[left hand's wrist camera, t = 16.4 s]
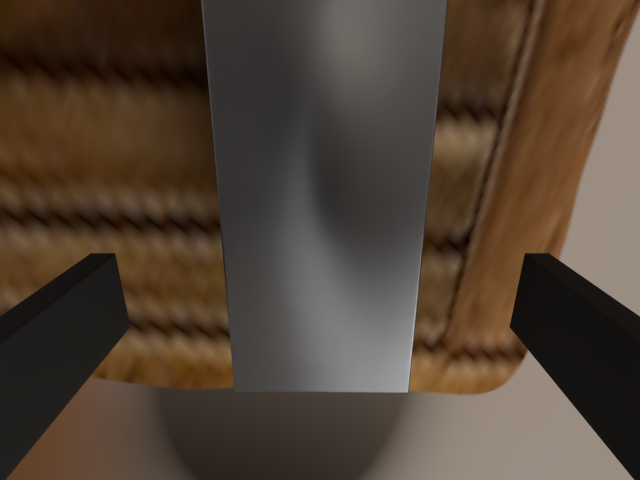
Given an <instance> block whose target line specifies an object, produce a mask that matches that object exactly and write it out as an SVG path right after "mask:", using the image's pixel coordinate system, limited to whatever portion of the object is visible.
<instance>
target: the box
mask: <svg viewBox="0 0 640 480" xmlns="http://www.w3.org/2000/svg"><path fill="white" fill-rule="evenodd" d="M201 6H202V18H203V29H204V41H205V53H206V64H207V76H208V87H209V99H210V111H211V122H212V134H213V145H214V157H215V169H216V180H217V192H218V203H219V215H220V227H221V238H222V250H223V262H224V273H225V285H226V296H227V308H228V320H229V331H230V343H231V354H232V366H233V378H234V389H235V391H236V392H337V393H408V391H409V382H410V373H411V363H412V353H413V343H414V333H415V323H416V313H417V303H418V294H419V284H420V274H421V264H422V254H423V244H424V234H425V224H426V214H427V205H428V195H429V185H430V175H431V165H432V155H433V145H434V135H435V125H436V116H437V106H438V96H439V86H440V76H441V66H442V56H443V46H444V36H445V27H446V17H447V7H448V0H201Z"/></svg>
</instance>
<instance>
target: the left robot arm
mask: <svg viewBox="0 0 640 480" xmlns="http://www.w3.org/2000/svg"><path fill="white" fill-rule="evenodd" d="M129 328H130V323H129V318H128V314H127V309H126V304H125V299H124V294H123V290H122V285H121V280H120V275H119V270H118V265H117V261H116V256H115V253H91V254H90V255H88V256H87V257H85V258H84V259H82V260H81V261H80V262H78V263H77V264H75V265H74V266H72V267H71V268H69V269H68V270H67V271H65V272H64V273H62V274H61V275H59V276H58V277H57V278H55V279H54V280H52V281H51V282H49V283H48V284H46V285H45V286H44V287H42V288H41V289H39V290H38V291H36V292H35V293H34V294H32V295H31V296H29V297H28V298H26V299H25V300H23V301H22V302H21V303H19V304H18V305H16V306H15V307H13V308H12V309H10V310H9V311H8V312H6V313H5V314H3V315H2V316H0V480H6V479H7V477H8V476H9V475H10V474H11V473H12V471H13V470H14V469H15V468H16V466H17V465H18V464H19V463H20V461H21V460H22V459H23V458H24V457H25V455H26V454H27V453H28V452H29V450H30V449H31V448H32V447H33V446H34V444H35V443H36V442H37V441H38V439H39V438H40V437H41V436H42V435H43V433H44V432H45V431H46V430H47V428H48V427H49V426H50V425H51V424H52V422H53V421H54V420H55V419H56V417H57V416H58V415H59V414H60V412H61V411H62V410H63V409H64V408H65V406H66V405H67V404H68V403H69V401H70V400H71V399H72V398H73V396H74V395H75V394H76V393H77V392H78V390H79V389H80V388H81V387H82V386H83V384H84V383H85V382H86V381H87V379H88V378H89V377H90V376H91V374H92V373H93V372H94V371H95V370H96V368H97V367H98V366H99V365H100V363H101V362H102V361H103V360H104V359H105V357H106V356H107V355H108V354H109V352H110V351H111V350H112V349H113V348H114V346H115V345H116V344H117V343H118V341H119V340H120V339H121V338H122V336H123V335H124V334H125V333H126V332H127V330H128V329H129ZM510 328H511V329H512V330H513V332H514V333H515V334H516V335H517V336H518V338H519V339H520V340H521V341H522V343H523V344H524V345H525V346H526V348H527V349H528V350H529V351H530V352H531V354H532V355H533V356H534V357H535V359H536V360H537V361H538V362H539V363H540V365H541V366H542V367H543V368H544V370H545V371H546V372H547V373H548V374H549V376H550V377H551V378H552V379H553V381H554V382H555V383H556V384H557V386H558V387H559V388H560V389H561V390H562V392H563V393H564V394H565V395H566V397H567V398H568V399H569V400H570V401H571V403H572V404H573V405H574V406H575V408H576V409H577V410H578V411H579V412H580V414H581V415H582V416H583V417H584V419H585V420H586V421H587V422H588V424H589V425H590V426H591V427H592V428H593V430H594V431H595V432H596V433H597V435H598V436H599V437H600V438H601V439H602V441H603V442H604V443H605V444H606V446H607V447H608V448H609V449H610V450H611V452H612V453H613V454H614V455H615V457H616V458H617V459H618V460H619V462H620V463H621V464H622V465H623V466H624V468H625V469H626V470H627V471H628V473H629V474H630V475H631V476H632V477H633V479H634V480H640V316H638V315H637V314H635V313H634V312H632V311H631V310H630V309H628V308H627V307H625V306H624V305H622V304H621V303H619V302H618V301H616V300H615V299H614V298H612V297H611V296H609V295H608V294H606V293H605V292H604V291H602V290H601V289H599V288H598V287H596V286H595V285H593V284H592V283H591V282H589V281H588V280H586V279H585V278H583V277H582V276H581V275H579V274H578V273H576V272H575V271H573V270H572V269H570V268H569V267H568V266H566V265H565V264H563V263H562V262H560V261H559V260H558V259H556V258H555V257H553V256H552V255H550V254H549V253H525V256H524V261H523V265H522V270H521V275H520V280H519V285H518V290H517V294H516V299H515V304H514V309H513V314H512V318H511V323H510Z"/></svg>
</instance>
